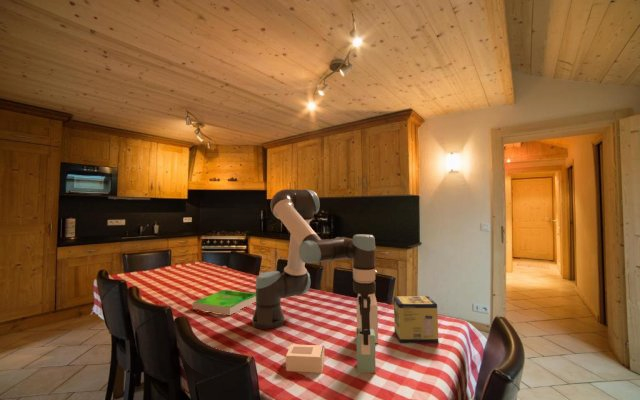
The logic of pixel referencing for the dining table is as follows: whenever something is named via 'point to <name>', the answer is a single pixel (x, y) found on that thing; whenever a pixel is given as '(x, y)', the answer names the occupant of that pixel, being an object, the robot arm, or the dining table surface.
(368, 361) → the pale green block
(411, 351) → the dining table surface
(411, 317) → the protein box
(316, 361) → the block
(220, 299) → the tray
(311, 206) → the robot arm
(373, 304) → the milk carton
